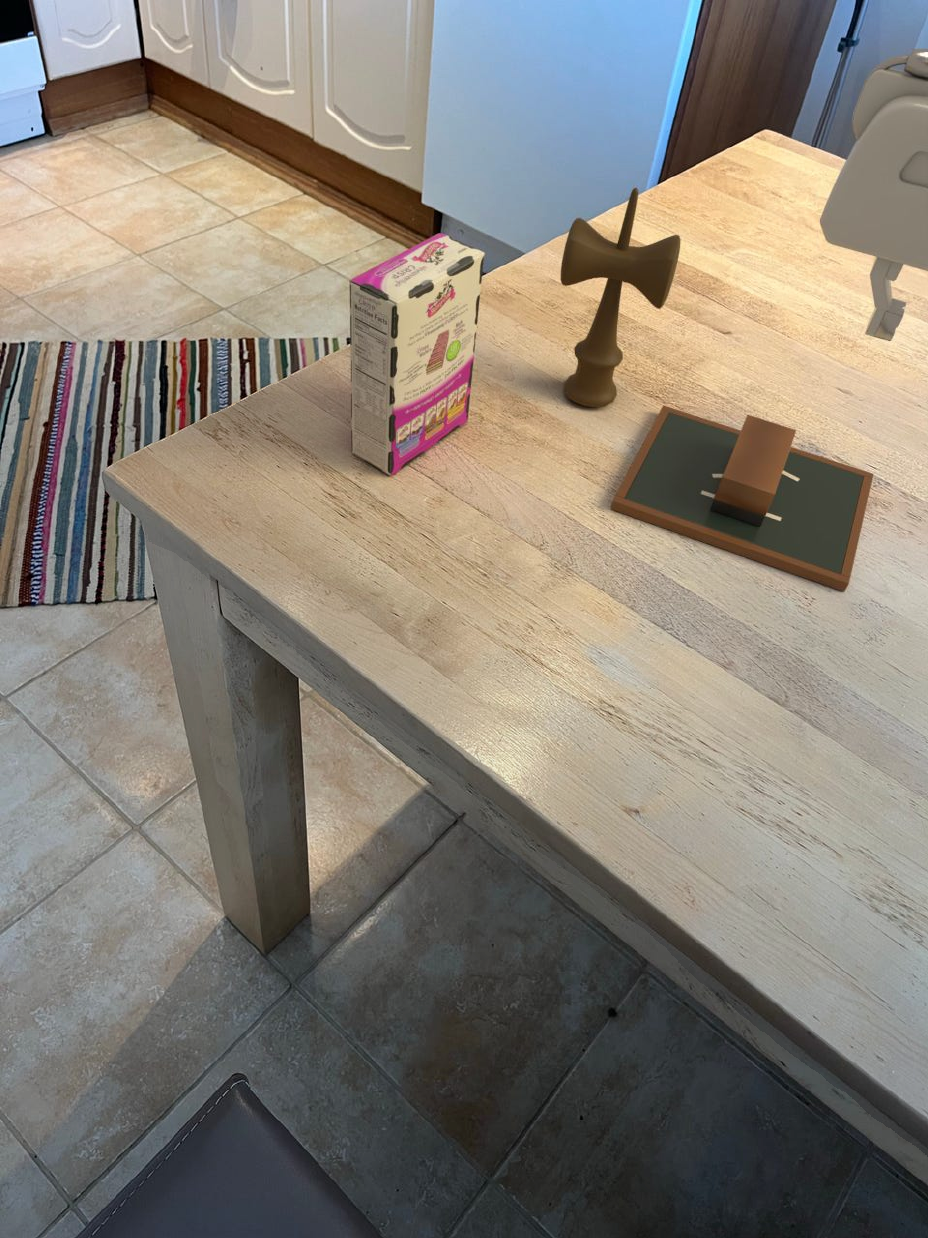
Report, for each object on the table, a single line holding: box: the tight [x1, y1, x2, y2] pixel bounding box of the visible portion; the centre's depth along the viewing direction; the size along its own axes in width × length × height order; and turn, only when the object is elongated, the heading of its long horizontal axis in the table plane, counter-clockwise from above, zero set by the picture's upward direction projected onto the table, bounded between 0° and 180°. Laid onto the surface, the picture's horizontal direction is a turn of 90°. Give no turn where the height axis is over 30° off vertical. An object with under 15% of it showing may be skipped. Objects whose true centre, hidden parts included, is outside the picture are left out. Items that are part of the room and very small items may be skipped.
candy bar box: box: [348, 232, 486, 477], centre depth 78 cm, size 11×5×16 cm, turn 143°
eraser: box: [710, 414, 797, 527], centre depth 81 cm, size 4×10×4 cm, turn 156°
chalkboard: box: [610, 405, 874, 592], centre depth 83 cm, size 20×16×1 cm
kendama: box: [560, 187, 682, 408], centre depth 84 cm, size 6×10×20 cm, turn 76°
